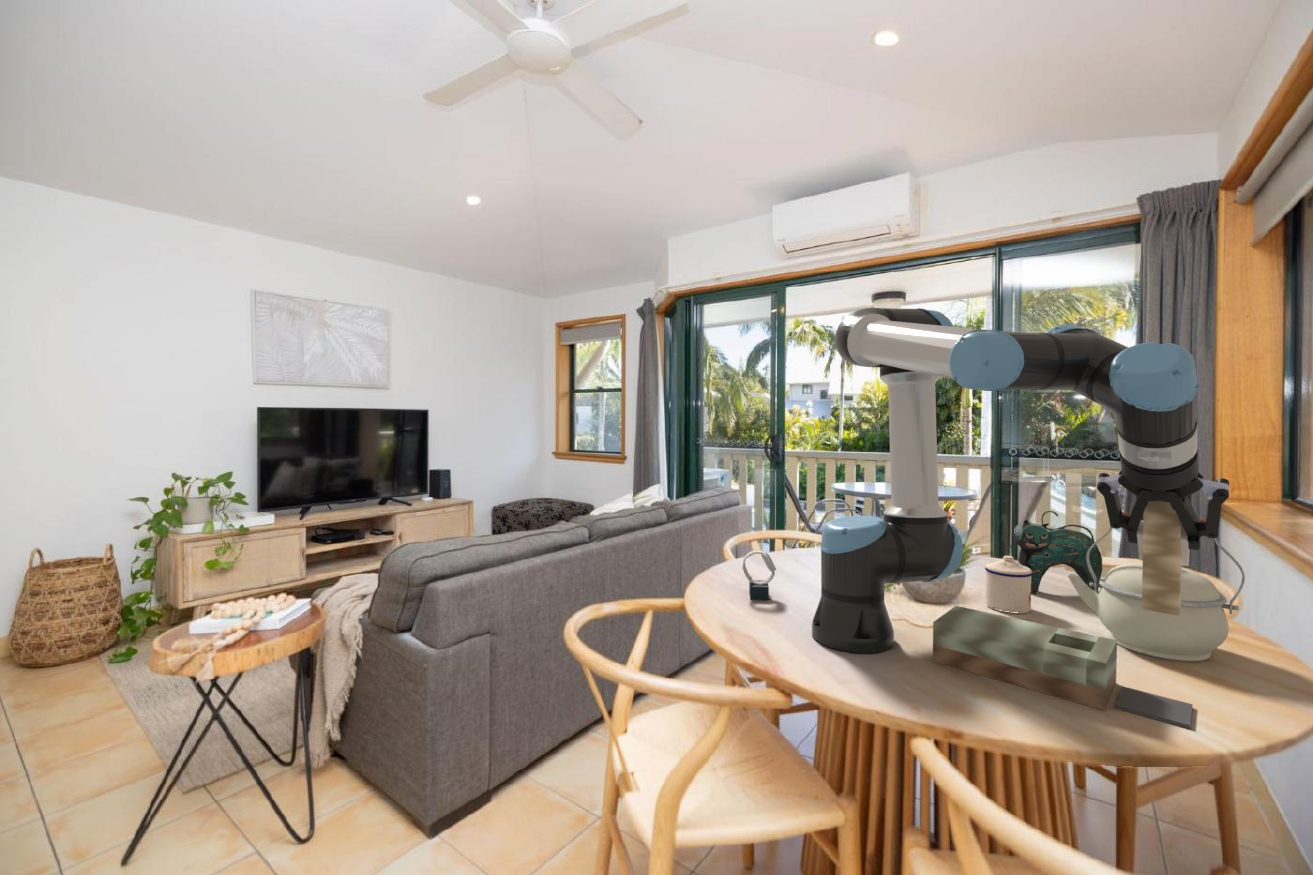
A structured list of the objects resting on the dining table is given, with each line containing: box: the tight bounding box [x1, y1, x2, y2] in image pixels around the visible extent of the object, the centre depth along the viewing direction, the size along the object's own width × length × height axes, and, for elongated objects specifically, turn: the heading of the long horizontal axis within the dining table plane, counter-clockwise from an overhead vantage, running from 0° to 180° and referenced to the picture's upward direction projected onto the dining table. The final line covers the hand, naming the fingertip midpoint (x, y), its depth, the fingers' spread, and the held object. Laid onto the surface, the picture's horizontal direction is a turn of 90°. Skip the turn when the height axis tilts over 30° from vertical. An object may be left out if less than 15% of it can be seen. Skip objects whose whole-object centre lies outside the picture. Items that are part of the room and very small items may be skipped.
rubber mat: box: [1115, 686, 1193, 730], centre depth 83 cm, size 8×8×1 cm
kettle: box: [1066, 511, 1246, 663], centre depth 106 cm, size 25×18×25 cm
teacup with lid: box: [984, 555, 1033, 614], centre depth 128 cm, size 12×9×12 cm
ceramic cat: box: [1012, 510, 1103, 594], centre depth 139 cm, size 20×6×20 cm, turn 88°
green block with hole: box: [932, 605, 1118, 711], centre depth 95 cm, size 24×12×7 cm, turn 45°
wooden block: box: [1142, 501, 1183, 616], centre depth 82 cm, size 4×4×16 cm
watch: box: [742, 549, 777, 601], centre depth 136 cm, size 6×8×11 cm
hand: (1164, 555), depth 85 cm, fingers closed on wooden block, 4 cm apart
